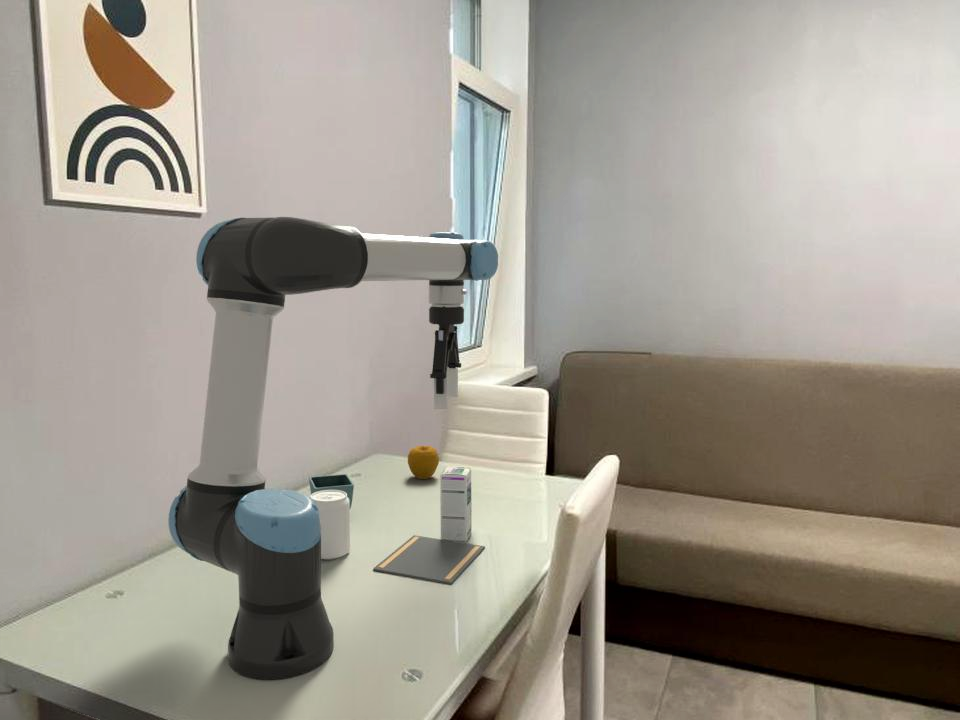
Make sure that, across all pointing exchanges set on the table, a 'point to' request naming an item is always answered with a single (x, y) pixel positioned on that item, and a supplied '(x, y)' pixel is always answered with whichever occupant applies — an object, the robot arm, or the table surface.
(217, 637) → the table surface
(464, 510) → the syrup box
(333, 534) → the beverage can
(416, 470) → the apple
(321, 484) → the flower pot
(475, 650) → the table surface
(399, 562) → the mat
